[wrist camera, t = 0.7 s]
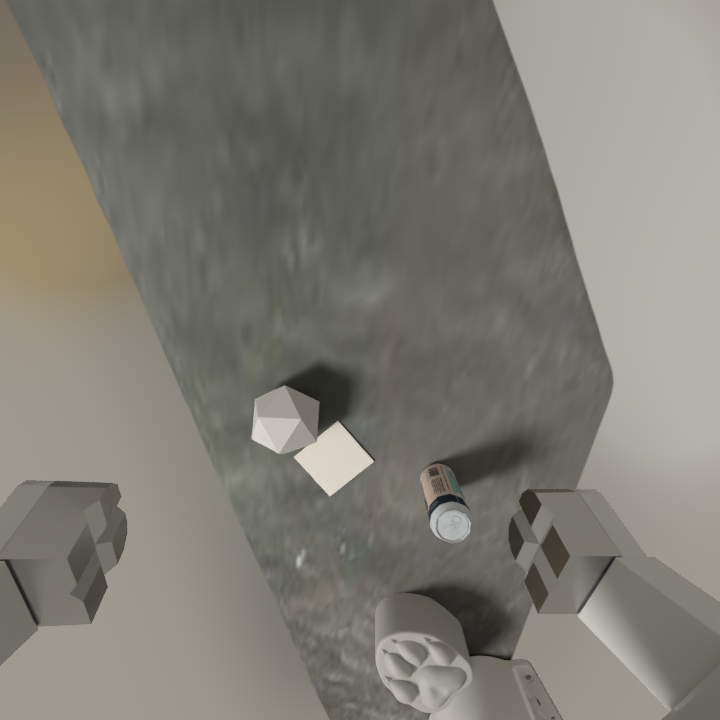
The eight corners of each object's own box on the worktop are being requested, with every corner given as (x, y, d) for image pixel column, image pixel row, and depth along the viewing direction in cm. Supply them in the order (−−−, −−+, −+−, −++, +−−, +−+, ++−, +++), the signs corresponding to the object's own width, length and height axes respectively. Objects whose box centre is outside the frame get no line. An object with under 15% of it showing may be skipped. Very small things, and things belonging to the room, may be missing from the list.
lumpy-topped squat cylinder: (425, 674, 65) (433, 734, 56) (358, 625, 63) (355, 677, 55) (472, 628, 63) (487, 682, 54) (403, 576, 62) (408, 623, 53)
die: (249, 393, 59) (232, 456, 52) (280, 360, 53) (265, 425, 47) (301, 416, 62) (290, 477, 55) (335, 387, 57) (327, 451, 50)
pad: (373, 460, 59) (374, 461, 59) (330, 495, 60) (329, 496, 60) (338, 420, 58) (337, 421, 58) (294, 456, 59) (293, 457, 59)
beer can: (414, 487, 59) (424, 537, 48) (427, 457, 59) (441, 500, 47) (446, 499, 60) (464, 552, 48) (460, 469, 59) (482, 515, 47)
